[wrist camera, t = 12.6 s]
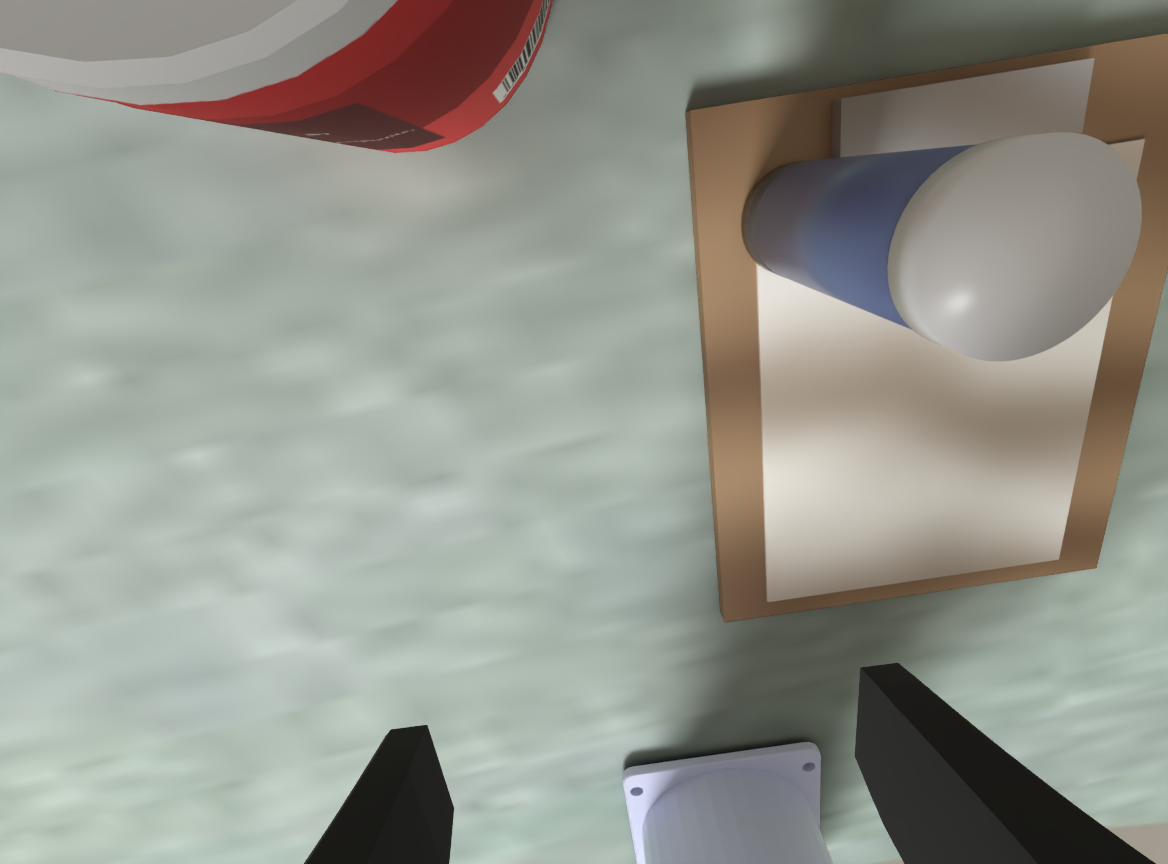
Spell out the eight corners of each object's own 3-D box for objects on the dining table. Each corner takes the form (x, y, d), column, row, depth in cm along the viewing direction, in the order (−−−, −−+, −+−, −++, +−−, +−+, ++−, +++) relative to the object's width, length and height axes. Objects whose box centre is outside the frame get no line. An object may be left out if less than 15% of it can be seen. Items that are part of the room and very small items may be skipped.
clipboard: (1082, 558, 21) (1108, 577, 20) (720, 611, 21) (728, 632, 20) (1200, 29, 15) (1247, 18, 14) (685, 113, 15) (694, 107, 14)
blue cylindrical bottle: (849, 265, 16) (1119, 341, 8) (743, 286, 16) (914, 378, 8) (849, 148, 15) (1162, 110, 7) (735, 170, 15) (924, 156, 7)
